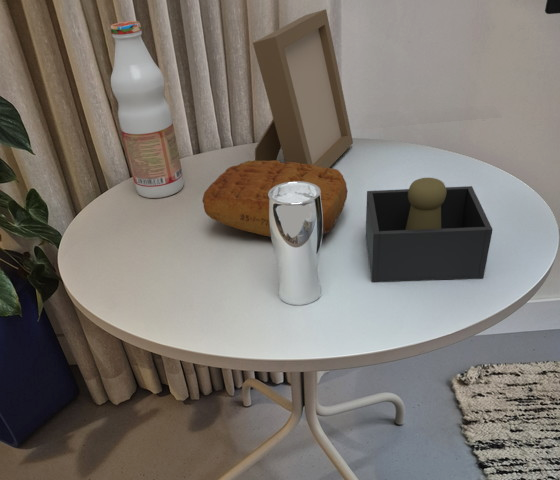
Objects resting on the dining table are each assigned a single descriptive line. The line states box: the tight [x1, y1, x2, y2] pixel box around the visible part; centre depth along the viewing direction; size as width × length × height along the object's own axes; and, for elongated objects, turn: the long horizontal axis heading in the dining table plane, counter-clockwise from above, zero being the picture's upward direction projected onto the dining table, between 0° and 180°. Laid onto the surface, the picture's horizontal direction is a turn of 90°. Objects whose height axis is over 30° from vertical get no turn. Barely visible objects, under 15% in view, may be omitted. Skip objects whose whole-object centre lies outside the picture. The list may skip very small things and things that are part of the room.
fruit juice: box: [110, 20, 185, 199], centre depth 103 cm, size 9×9×28 cm
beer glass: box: [268, 181, 324, 306], centre depth 76 cm, size 7×7×15 cm
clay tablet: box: [202, 160, 348, 238], centre depth 95 cm, size 22×17×8 cm
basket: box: [365, 185, 494, 283], centre depth 84 cm, size 16×14×8 cm
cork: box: [405, 177, 447, 230], centre depth 82 cm, size 6×6×11 cm
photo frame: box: [252, 8, 354, 168], centre depth 108 cm, size 15×22×25 cm
